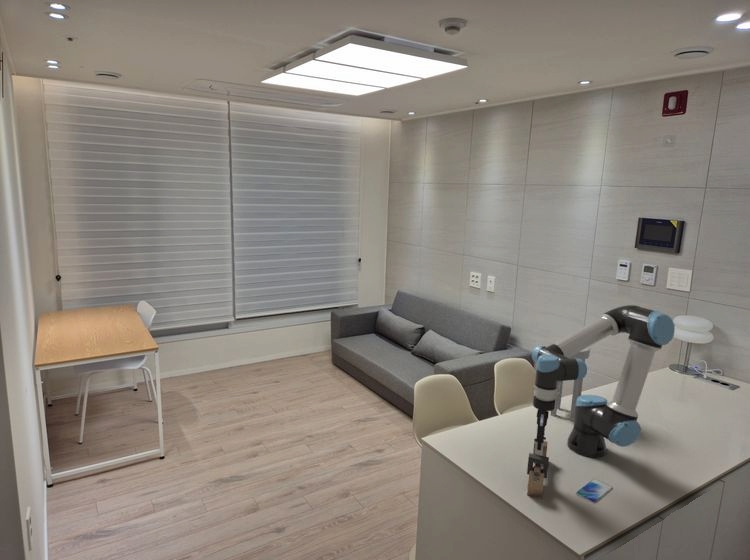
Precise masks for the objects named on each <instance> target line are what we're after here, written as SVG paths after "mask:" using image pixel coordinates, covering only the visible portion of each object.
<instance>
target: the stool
mask: <svg viewBox="0 0 750 560" xmlns="http://www.w3.org/2000/svg"><path fill="white" fill-rule="evenodd" d="M590 353H591V348H589V347H587V348H585V349H584V350H582V351H580V352H578V353H576V354H575V355H573V356H571V357H569V358H570V359H574V358H576V359H582V360H583V361H584V362H585V363H586V360H587V359H589V357H590ZM583 382H584V378H582V379H577V380H573V387H572V388H573V389H572V397H571V405H570V415H569V421H570V422H574V419H575V408H576V402H577V398H578V397H579V396H581V395H582V392H583V391H582V390H583ZM563 384H564V381H558V382H557V391H556V398H555V408H554V410H552V411H550V414H549V415H550V416H552V417H556V416H557V413H558V409H559V410H560V409H561V404H562V402H561V401H562V395H563V386H564V385H563Z"/></svg>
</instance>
